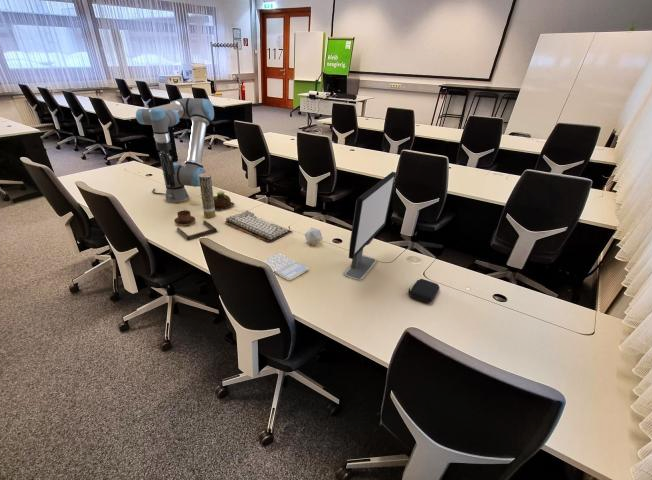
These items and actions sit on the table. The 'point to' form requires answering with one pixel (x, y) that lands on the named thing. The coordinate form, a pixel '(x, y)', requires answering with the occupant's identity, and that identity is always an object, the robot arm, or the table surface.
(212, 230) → the bay
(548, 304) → the table surface
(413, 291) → the carrying case
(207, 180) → the bark textured cylinder
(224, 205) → the dark brown mound
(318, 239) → the die
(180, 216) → the cup and saucer
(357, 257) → the computer monitor
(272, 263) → the calculator
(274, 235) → the mechanical keyboard
